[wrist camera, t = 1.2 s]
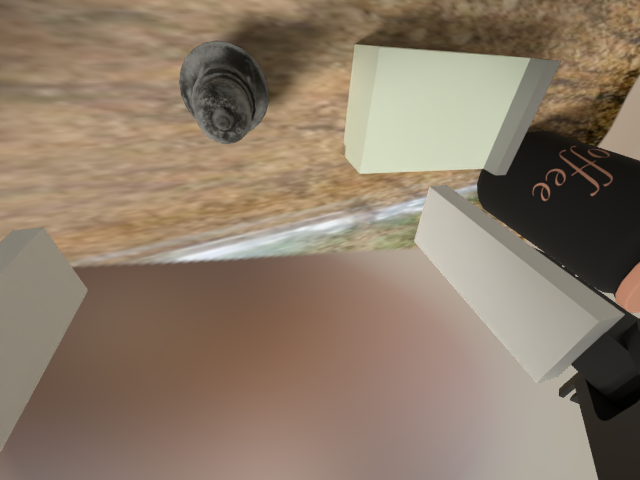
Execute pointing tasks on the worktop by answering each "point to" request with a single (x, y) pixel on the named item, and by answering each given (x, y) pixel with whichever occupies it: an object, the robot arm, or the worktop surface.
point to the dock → (440, 109)
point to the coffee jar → (574, 209)
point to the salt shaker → (224, 90)
